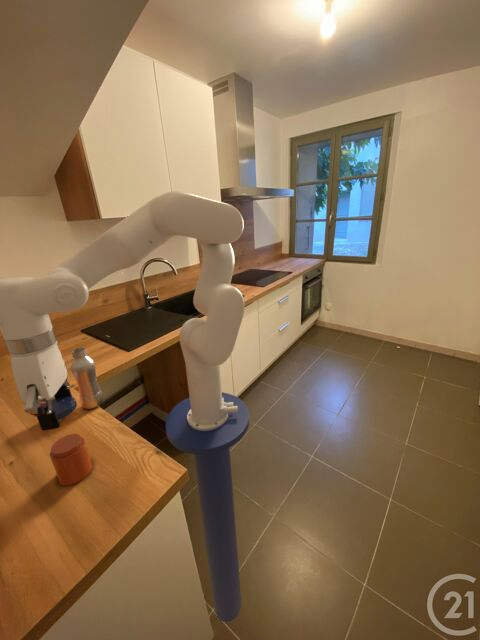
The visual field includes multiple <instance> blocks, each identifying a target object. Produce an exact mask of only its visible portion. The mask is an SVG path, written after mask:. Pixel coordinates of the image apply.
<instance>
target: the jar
mask: <svg viewBox="0 0 480 640" xmlns="http://www.w3.org/2000/svg"><path fill="white" fill-rule="evenodd" d="M49 458H50V461H51V463H52V466H53V468H54V471H55V474H56V477H57V479H58V482H59V484H61V485H62V486H72V485H75V484H77V483H79V482H81V481H82V480H84V479H85V478H86V477H87V476H88V475H89V474H90V472H91V471H92V469H93V463H92V459H91V457H90V454H89V450H88V446H87V444H86V440H85V438H84V437H83V436H82V435H80V434H79V433H70V434H69V433H68V434H67V435H64V436H62V437H60V438H58V439H57V440H55V441H54V443H53V444H52V445H51V447H50V452H49Z"/></svg>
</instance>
